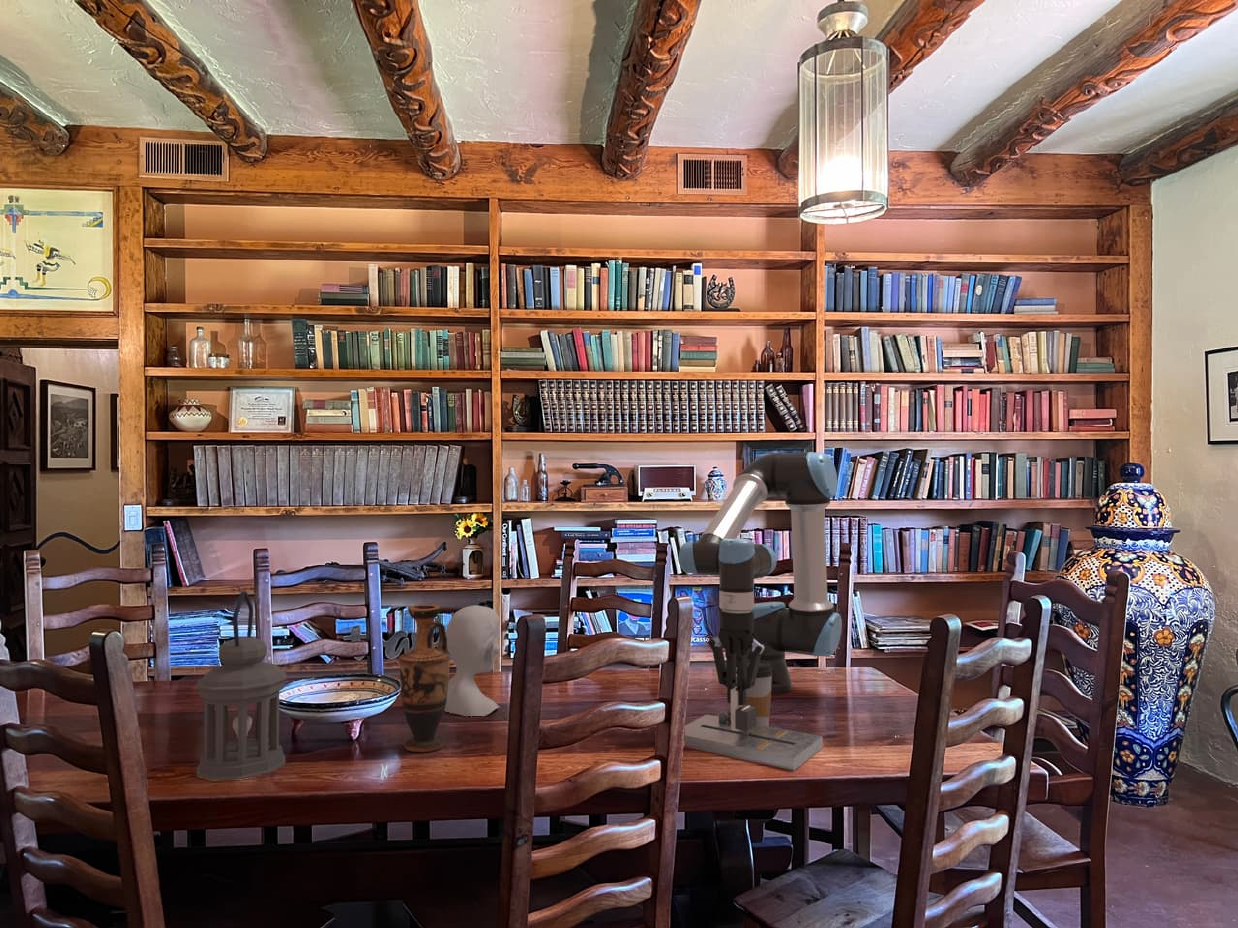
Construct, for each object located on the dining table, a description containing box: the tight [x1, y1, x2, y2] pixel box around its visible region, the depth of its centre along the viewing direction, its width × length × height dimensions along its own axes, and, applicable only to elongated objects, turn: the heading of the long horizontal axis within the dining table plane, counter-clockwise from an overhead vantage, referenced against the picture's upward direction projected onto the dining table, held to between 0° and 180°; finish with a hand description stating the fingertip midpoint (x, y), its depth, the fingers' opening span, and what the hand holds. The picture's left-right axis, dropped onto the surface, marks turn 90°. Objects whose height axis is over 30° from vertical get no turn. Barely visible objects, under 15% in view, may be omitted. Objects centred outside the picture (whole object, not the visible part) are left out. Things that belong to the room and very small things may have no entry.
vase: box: [398, 604, 451, 754], centre depth 172 cm, size 11×11×30 cm
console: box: [684, 710, 824, 771], centre depth 173 cm, size 16×28×4 cm, turn 56°
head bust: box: [444, 604, 501, 718], centre depth 205 cm, size 22×19×25 cm
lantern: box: [196, 590, 288, 780], centre depth 161 cm, size 17×17×35 cm
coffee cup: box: [736, 660, 773, 726], centre depth 185 cm, size 8×8×15 cm
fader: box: [735, 705, 756, 736], centre depth 173 cm, size 4×3×7 cm, turn 146°
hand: (736, 718), depth 174 cm, fingers closed
